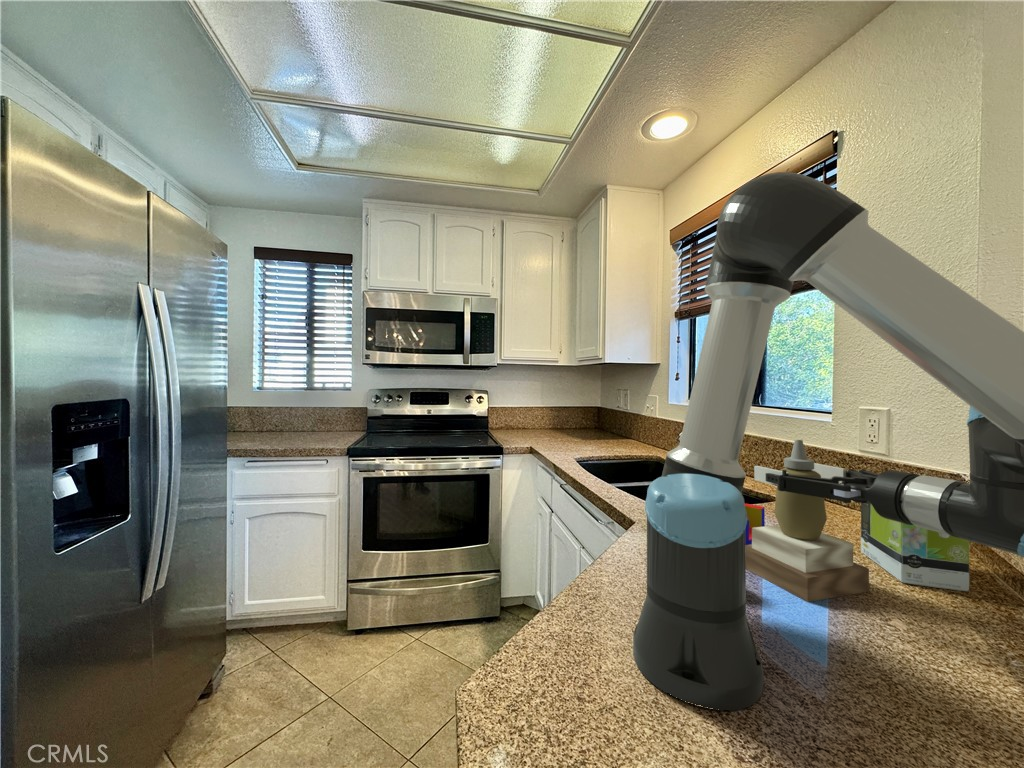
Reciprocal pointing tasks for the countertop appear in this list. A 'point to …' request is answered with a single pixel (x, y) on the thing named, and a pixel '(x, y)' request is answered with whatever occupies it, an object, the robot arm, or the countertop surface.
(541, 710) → the countertop surface
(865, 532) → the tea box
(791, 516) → the squeeze bottle
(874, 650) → the countertop surface
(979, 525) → the robot arm
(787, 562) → the box on wooden base
